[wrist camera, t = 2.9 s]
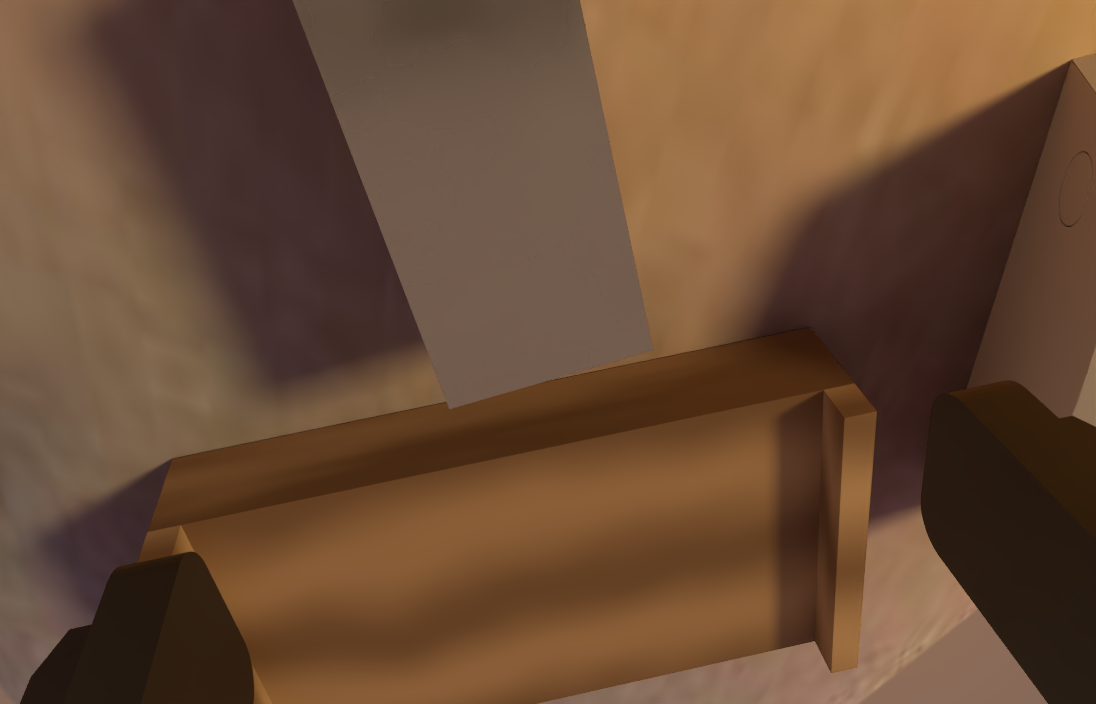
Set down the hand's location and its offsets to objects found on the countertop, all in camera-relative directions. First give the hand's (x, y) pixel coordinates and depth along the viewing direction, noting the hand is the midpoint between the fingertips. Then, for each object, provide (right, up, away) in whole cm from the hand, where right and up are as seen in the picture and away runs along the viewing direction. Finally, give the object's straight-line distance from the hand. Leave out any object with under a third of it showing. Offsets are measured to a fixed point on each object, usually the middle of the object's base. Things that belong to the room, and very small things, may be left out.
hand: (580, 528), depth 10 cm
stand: (-1, -4, +23) cm, 24 cm away
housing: (-3, +9, +15) cm, 18 cm away
